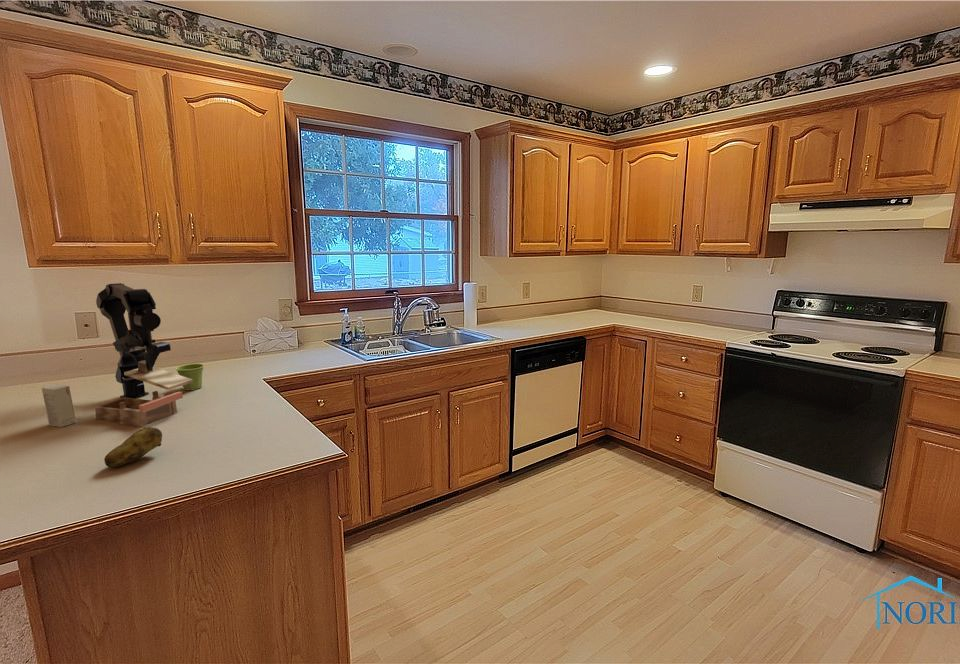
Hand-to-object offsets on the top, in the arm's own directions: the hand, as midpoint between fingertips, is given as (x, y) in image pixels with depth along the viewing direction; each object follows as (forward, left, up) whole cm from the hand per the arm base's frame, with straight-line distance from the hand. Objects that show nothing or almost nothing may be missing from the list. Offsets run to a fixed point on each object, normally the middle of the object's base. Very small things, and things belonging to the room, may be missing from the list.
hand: (145, 370), depth 165 cm
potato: (+36, -35, -13) cm, 52 cm away
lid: (+6, 0, -3) cm, 6 cm away
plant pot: (-1, +19, -13) cm, 22 cm away
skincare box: (-10, -22, -13) cm, 27 cm away
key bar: (+18, -11, -7) cm, 22 cm away
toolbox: (+6, -11, -12) cm, 17 cm away
